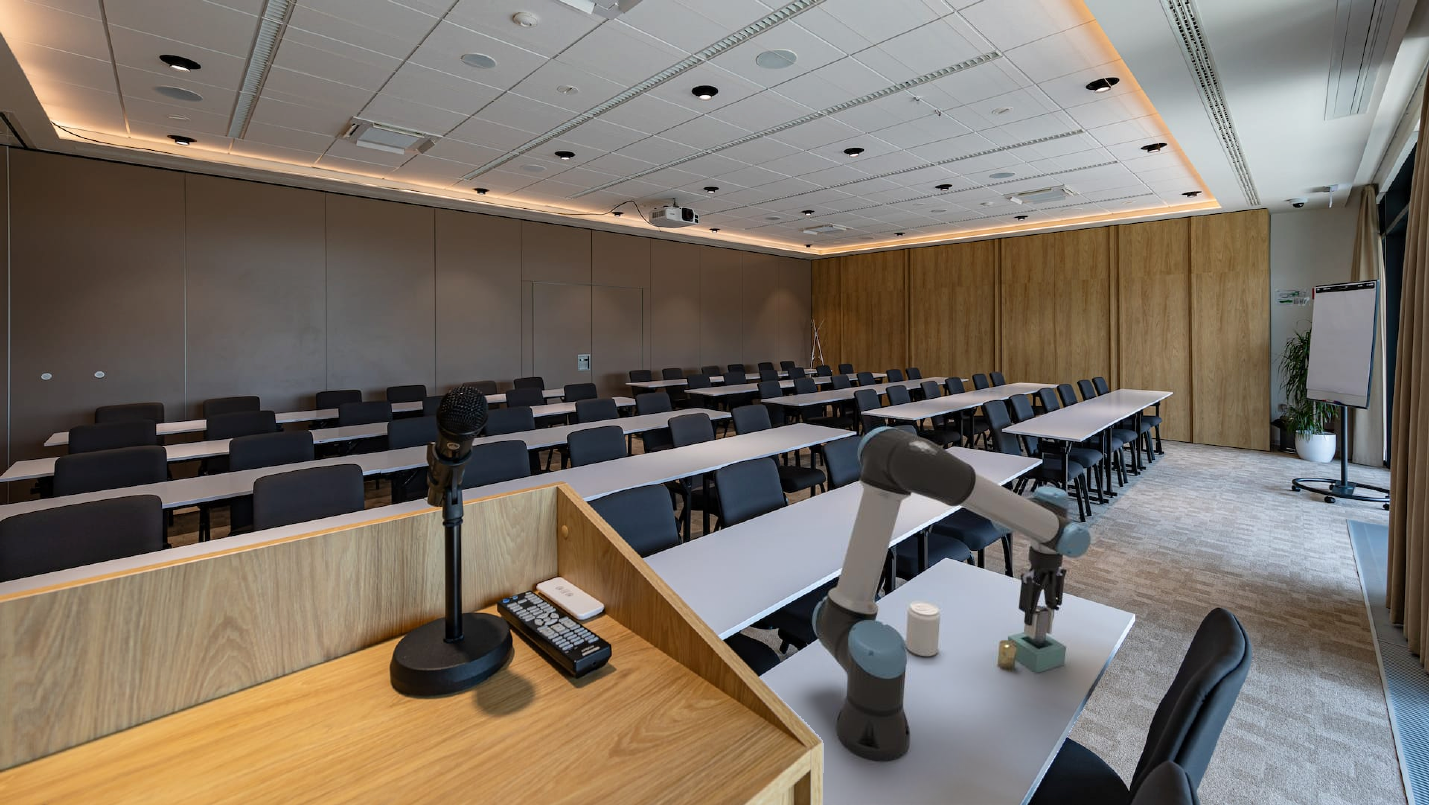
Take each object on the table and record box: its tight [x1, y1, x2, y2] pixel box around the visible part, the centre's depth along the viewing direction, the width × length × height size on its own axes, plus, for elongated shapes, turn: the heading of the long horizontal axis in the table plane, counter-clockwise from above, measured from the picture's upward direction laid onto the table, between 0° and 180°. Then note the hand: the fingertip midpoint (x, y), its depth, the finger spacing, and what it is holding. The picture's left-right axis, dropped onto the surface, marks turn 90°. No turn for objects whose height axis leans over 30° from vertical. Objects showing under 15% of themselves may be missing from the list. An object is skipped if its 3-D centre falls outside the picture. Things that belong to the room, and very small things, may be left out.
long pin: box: [1028, 605, 1049, 649], centre depth 157 cm, size 4×4×14 cm
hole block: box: [1007, 631, 1067, 674], centre depth 157 cm, size 10×9×5 cm
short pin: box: [997, 639, 1017, 672], centre depth 154 cm, size 4×4×6 cm
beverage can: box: [905, 600, 941, 657], centre depth 161 cm, size 8×8×12 cm
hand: (1037, 633), depth 157 cm, fingers open, 5 cm apart
